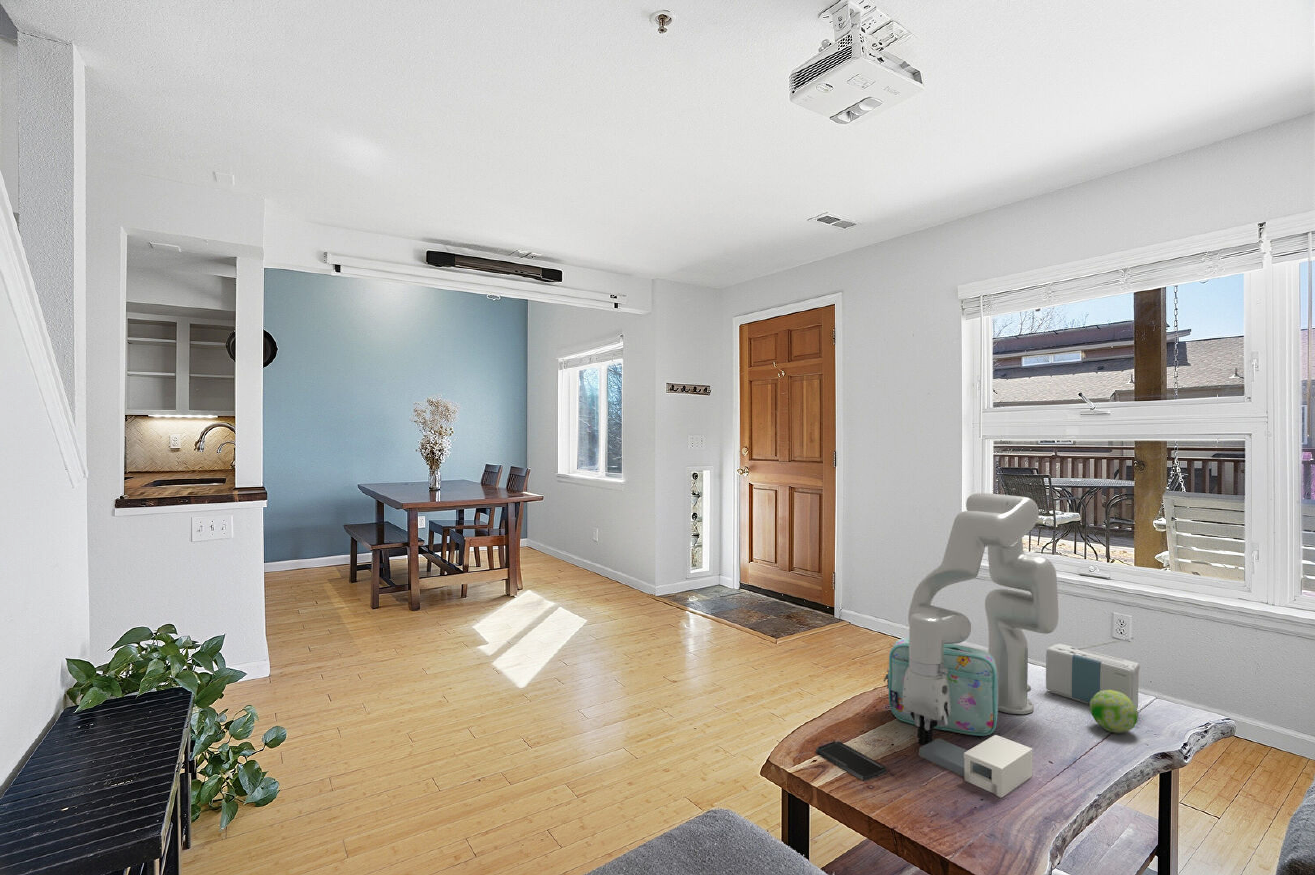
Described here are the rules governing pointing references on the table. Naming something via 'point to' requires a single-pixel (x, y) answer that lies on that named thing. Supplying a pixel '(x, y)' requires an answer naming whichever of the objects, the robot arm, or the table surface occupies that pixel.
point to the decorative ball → (1113, 711)
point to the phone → (851, 760)
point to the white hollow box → (999, 764)
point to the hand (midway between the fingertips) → (925, 743)
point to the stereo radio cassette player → (1089, 673)
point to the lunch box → (953, 687)
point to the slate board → (950, 757)
